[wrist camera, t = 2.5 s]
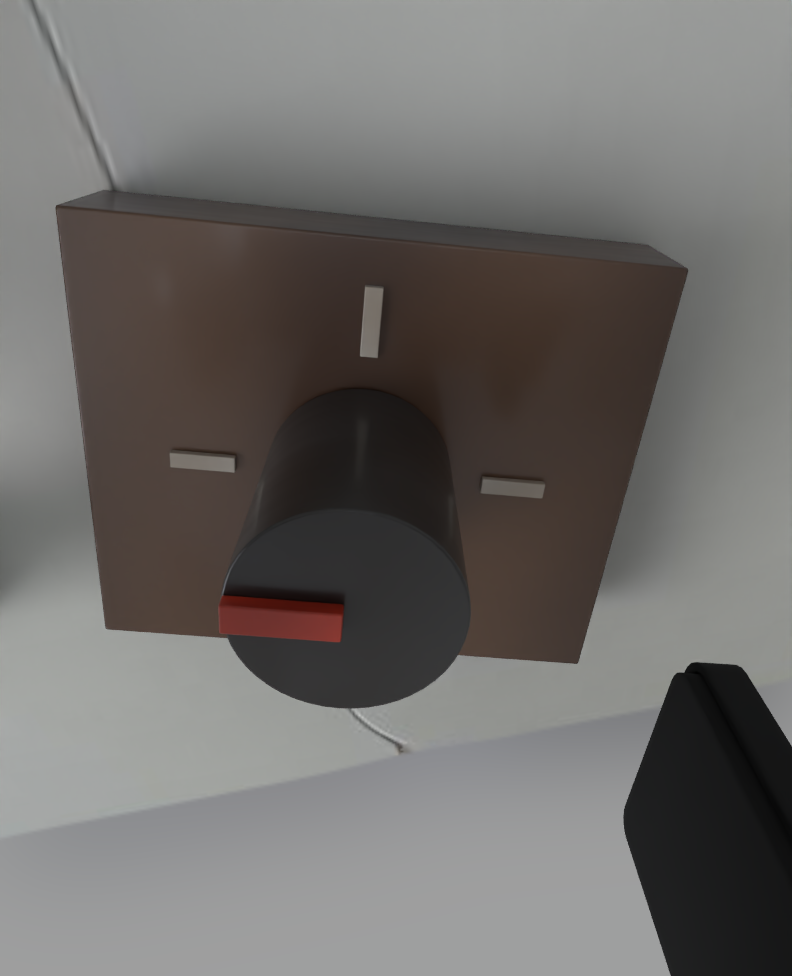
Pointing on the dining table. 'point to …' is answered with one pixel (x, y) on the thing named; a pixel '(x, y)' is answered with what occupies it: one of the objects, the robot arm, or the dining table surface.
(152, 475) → the panel
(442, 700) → the dining table surface
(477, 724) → the dining table surface
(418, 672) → the knob
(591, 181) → the dining table surface
